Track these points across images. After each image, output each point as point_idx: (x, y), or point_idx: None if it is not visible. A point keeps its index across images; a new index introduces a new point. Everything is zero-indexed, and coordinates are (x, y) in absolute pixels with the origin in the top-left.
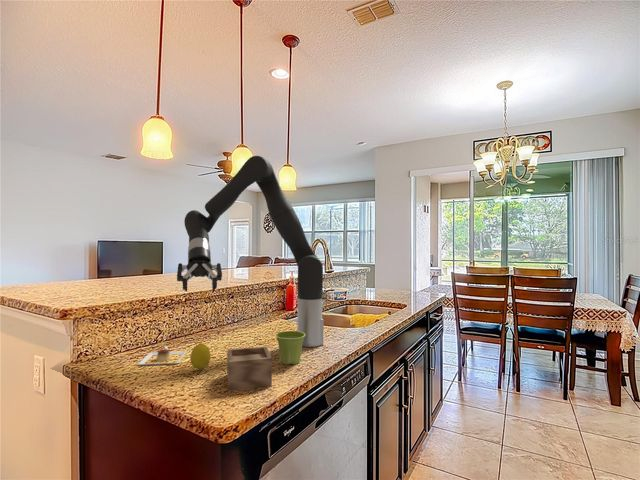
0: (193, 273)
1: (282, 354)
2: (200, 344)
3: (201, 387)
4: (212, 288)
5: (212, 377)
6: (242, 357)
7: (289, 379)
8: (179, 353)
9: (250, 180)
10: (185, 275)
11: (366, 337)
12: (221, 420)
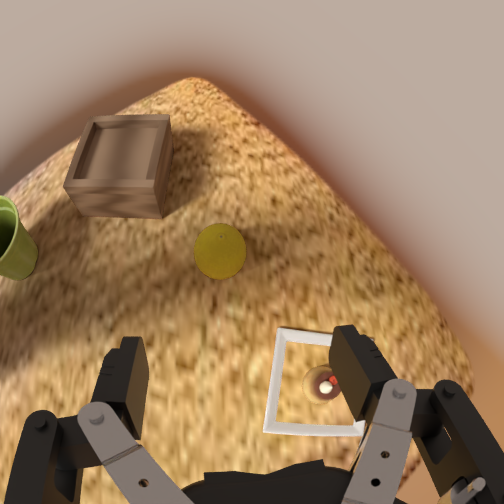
0: (338, 468)
1: (29, 237)
2: (221, 232)
3: (218, 174)
4: (145, 374)
5: (194, 215)
6: (128, 167)
7: (64, 169)
8: (283, 424)
9: None
10: (402, 404)
11: None
12: (198, 85)
